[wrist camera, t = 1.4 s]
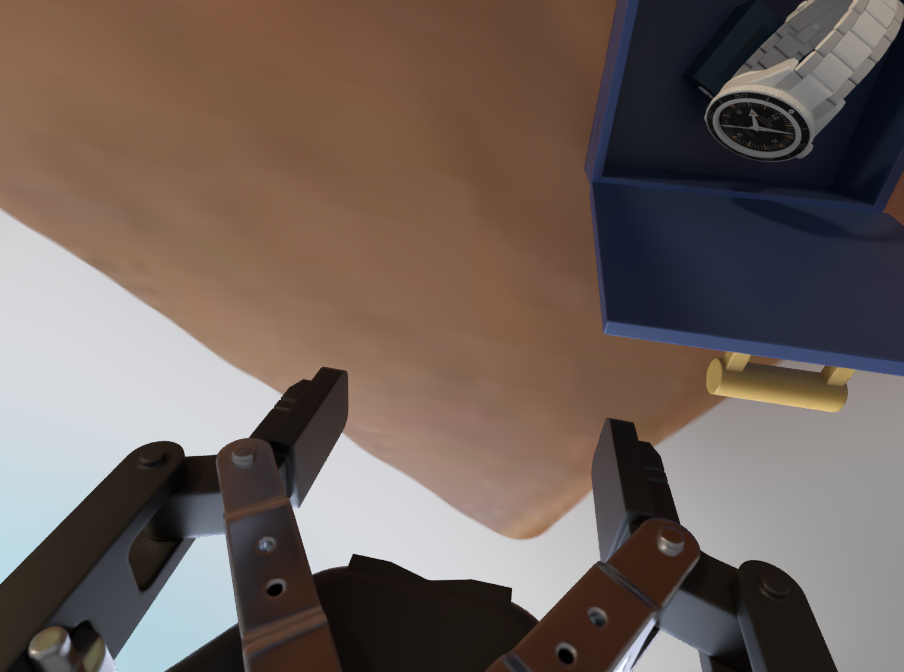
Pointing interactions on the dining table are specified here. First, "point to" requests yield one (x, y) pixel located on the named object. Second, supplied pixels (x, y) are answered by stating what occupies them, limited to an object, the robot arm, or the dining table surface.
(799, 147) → the watch
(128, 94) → the dining table surface
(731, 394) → the lid
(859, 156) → the case
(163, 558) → the robot arm
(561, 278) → the dining table surface
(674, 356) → the dining table surface
